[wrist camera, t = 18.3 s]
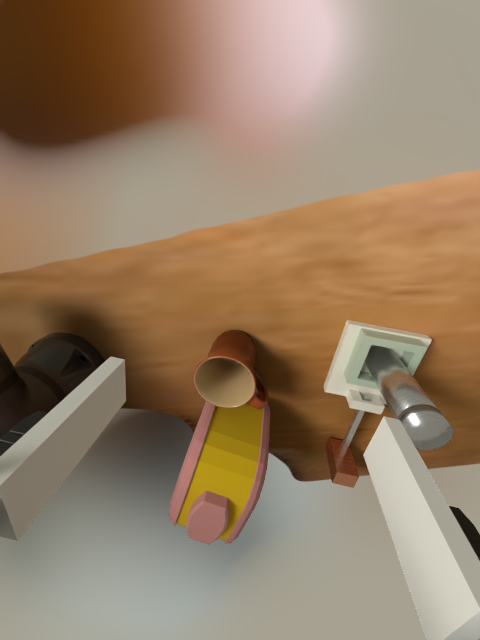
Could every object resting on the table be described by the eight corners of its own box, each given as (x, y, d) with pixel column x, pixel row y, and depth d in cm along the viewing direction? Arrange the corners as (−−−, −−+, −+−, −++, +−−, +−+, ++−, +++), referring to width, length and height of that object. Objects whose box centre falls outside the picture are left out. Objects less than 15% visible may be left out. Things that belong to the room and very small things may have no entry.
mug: (201, 346, 46) (181, 382, 37) (232, 313, 42) (219, 343, 33) (251, 386, 48) (244, 430, 39) (285, 358, 44) (286, 399, 35)
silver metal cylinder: (359, 365, 41) (397, 444, 28) (369, 341, 39) (415, 414, 26) (387, 371, 41) (440, 454, 27) (399, 347, 39) (461, 423, 26)
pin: (373, 388, 44) (389, 419, 37) (344, 452, 50) (353, 487, 44) (352, 383, 44) (364, 413, 38) (325, 447, 51) (332, 482, 44)
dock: (426, 335, 39) (443, 349, 35) (393, 400, 45) (403, 419, 41) (347, 319, 40) (354, 332, 36) (323, 386, 46) (327, 403, 42)
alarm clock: (243, 454, 55) (226, 570, 38) (194, 437, 55) (155, 545, 38) (273, 390, 48) (270, 499, 30) (217, 370, 48) (180, 468, 30)
